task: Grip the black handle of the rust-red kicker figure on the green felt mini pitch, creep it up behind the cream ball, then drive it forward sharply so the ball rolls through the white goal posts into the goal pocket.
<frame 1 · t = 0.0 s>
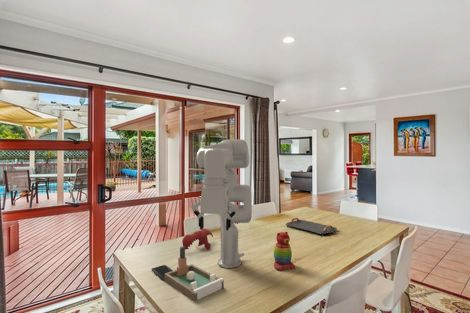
hand: (214, 229, 95), 31 cm above the table, tool pointing down, fingers open, 9 cm apart
phone: (164, 274, 129), on the table
ball: (190, 275, 119), point 3 cm above the table, touching pitch
pitch: (192, 283, 118), on the table
stacking bear: (282, 266, 137), on the table
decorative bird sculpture: (201, 248, 163), on the table
serving board: (310, 229, 207), on the table
kicker: (182, 260, 124), point 8 cm above the table, slide at 0.0 cm
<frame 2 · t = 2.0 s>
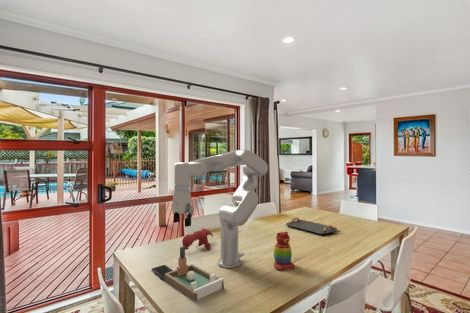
hand: (182, 224, 124), 25 cm above the table, tool pointing down, fingers open, 9 cm apart
nothing on the table moved.
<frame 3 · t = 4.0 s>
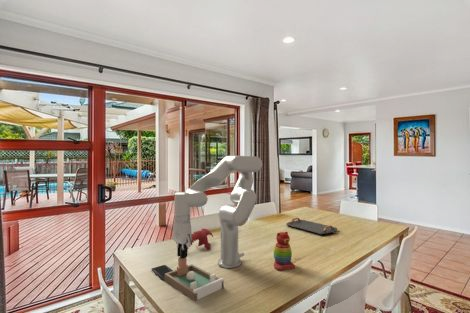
hand: (182, 256, 124), 10 cm above the table, tool pointing down, fingers closed on kicker, 2 cm apart
kicker: (182, 260, 124), point 8 cm above the table, slide at 0.0 cm, touching gripper
everything else where it was.
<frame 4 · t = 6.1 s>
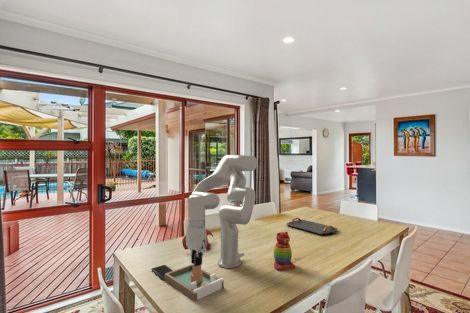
hand: (196, 263, 116), 10 cm above the table, tool pointing down, fingers closed on kicker, 2 cm apart
ball: (205, 286, 111), point 2 cm above the table, tilted 70°
kicker: (196, 268, 116), point 8 cm above the table, slide at 11.6 cm, touching gripper
everything else where it was.
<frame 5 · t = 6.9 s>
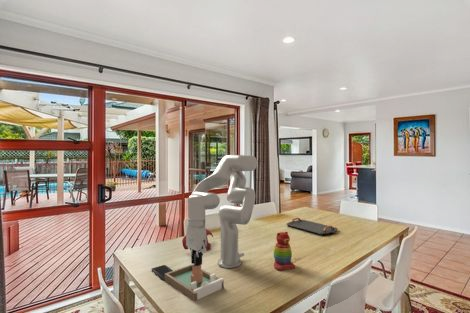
hand: (196, 263, 116), 10 cm above the table, tool pointing down, fingers closed on kicker, 2 cm apart
kicker: (196, 268, 116), point 8 cm above the table, slide at 11.6 cm, touching gripper
everything else where it was.
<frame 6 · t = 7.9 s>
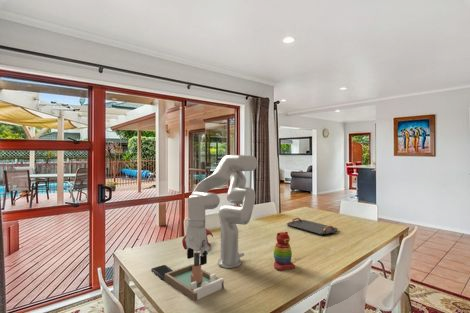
hand: (196, 261, 116), 11 cm above the table, tool pointing down, fingers open, 9 cm apart
kicker: (196, 268, 116), point 8 cm above the table, slide at 11.6 cm
everything else where it was.
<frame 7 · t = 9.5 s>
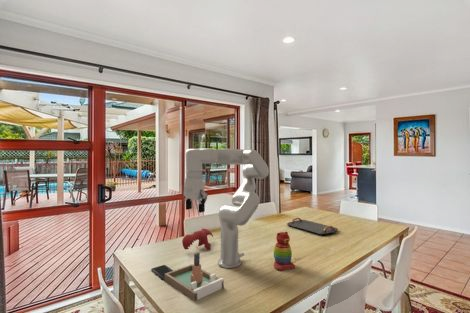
hand: (195, 210, 124), 32 cm above the table, tool pointing down, fingers open, 9 cm apart
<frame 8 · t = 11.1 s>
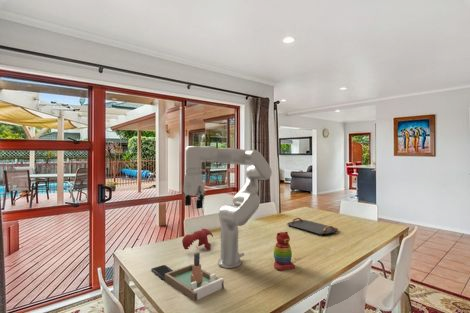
hand: (193, 206, 126), 33 cm above the table, tool pointing down, fingers open, 9 cm apart
at the end: ball 0.0 cm from the target spot, point 2.0 cm above the table; kicker slide at 11.6 cm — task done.
